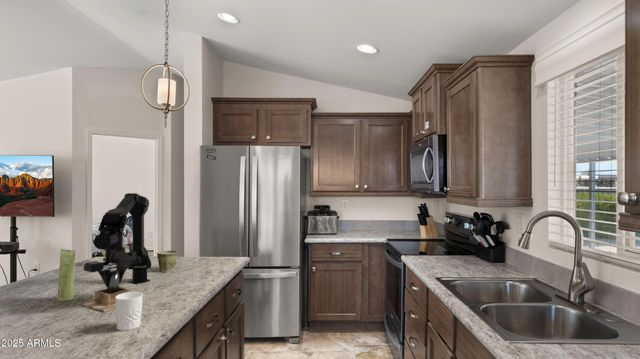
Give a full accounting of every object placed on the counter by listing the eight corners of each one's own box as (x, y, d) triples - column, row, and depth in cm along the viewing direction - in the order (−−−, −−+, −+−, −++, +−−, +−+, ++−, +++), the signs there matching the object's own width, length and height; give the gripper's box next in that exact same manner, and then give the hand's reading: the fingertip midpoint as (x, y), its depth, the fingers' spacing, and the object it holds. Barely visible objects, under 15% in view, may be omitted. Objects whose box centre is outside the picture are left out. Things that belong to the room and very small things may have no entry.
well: (82, 305, 128) (83, 292, 128) (119, 294, 140) (120, 283, 140) (104, 312, 121) (104, 298, 121) (141, 300, 133) (141, 288, 134)
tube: (76, 296, 137) (77, 248, 138) (73, 300, 133) (75, 250, 133) (59, 298, 135) (60, 248, 135) (55, 302, 130) (57, 251, 130)
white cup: (121, 321, 113) (122, 291, 113) (146, 321, 114) (147, 291, 114) (109, 332, 105) (110, 299, 105) (135, 331, 106) (136, 299, 106)
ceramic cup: (172, 273, 175) (172, 254, 175) (152, 273, 175) (153, 253, 175) (182, 267, 188) (183, 249, 188) (164, 267, 188) (165, 249, 188)
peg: (104, 295, 130) (105, 271, 130) (115, 292, 133) (115, 269, 134) (110, 296, 128) (111, 272, 128) (121, 293, 132) (121, 270, 132)
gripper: (100, 250, 119) (99, 295, 119) (149, 243, 135) (148, 282, 135) (83, 247, 124) (82, 290, 124) (132, 240, 141) (131, 278, 140)
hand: (113, 285), depth 131 cm, fingers closed on peg, 4 cm apart
